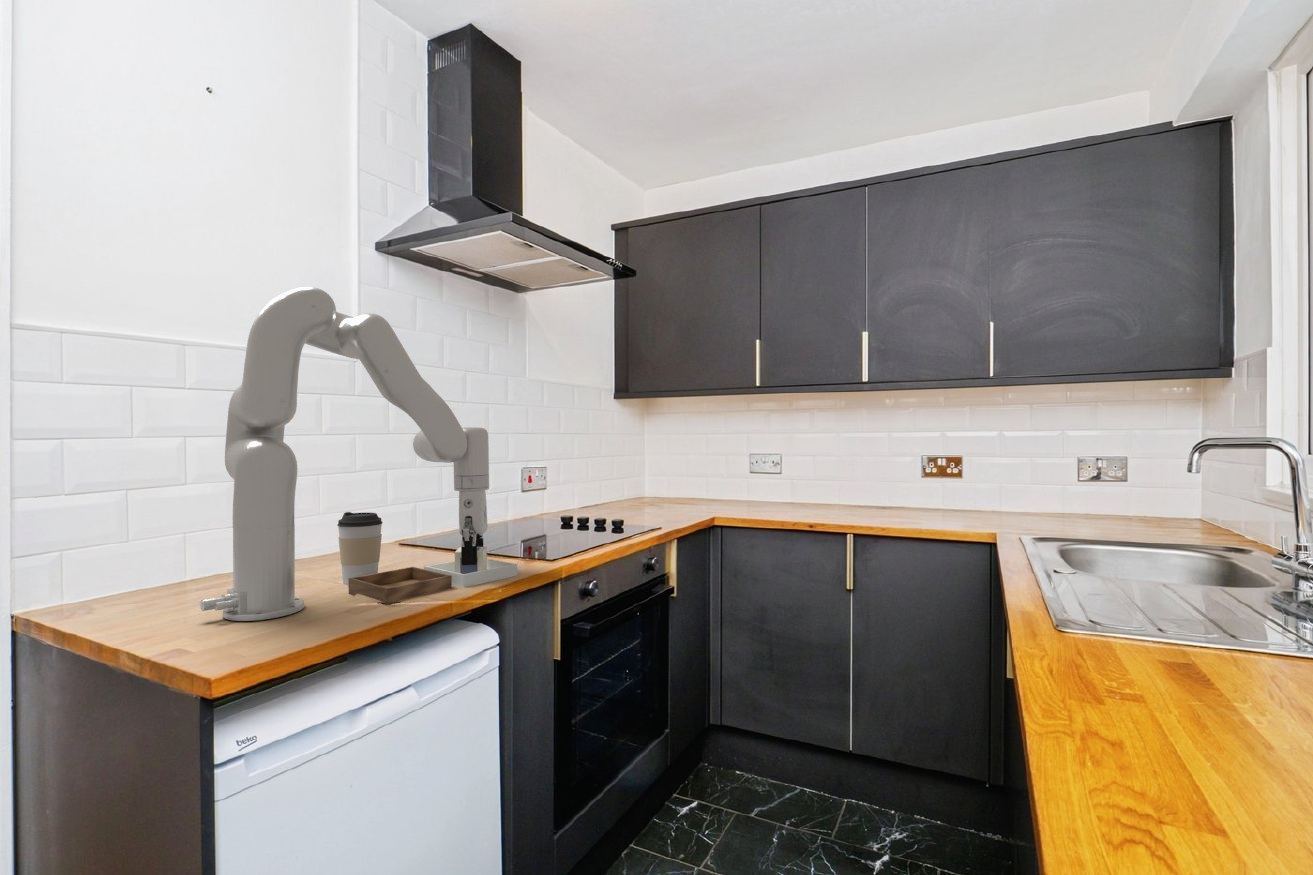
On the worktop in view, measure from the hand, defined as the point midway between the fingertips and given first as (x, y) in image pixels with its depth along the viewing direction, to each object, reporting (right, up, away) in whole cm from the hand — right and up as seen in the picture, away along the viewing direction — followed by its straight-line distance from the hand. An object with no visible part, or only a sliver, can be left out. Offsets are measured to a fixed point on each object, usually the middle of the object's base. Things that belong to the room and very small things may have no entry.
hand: (472, 560), depth 143 cm
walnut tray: (-11, -4, -12) cm, 17 cm away
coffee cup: (-24, -4, -2) cm, 24 cm away
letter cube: (0, -4, 0) cm, 4 cm away
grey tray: (0, -4, 0) cm, 4 cm away
